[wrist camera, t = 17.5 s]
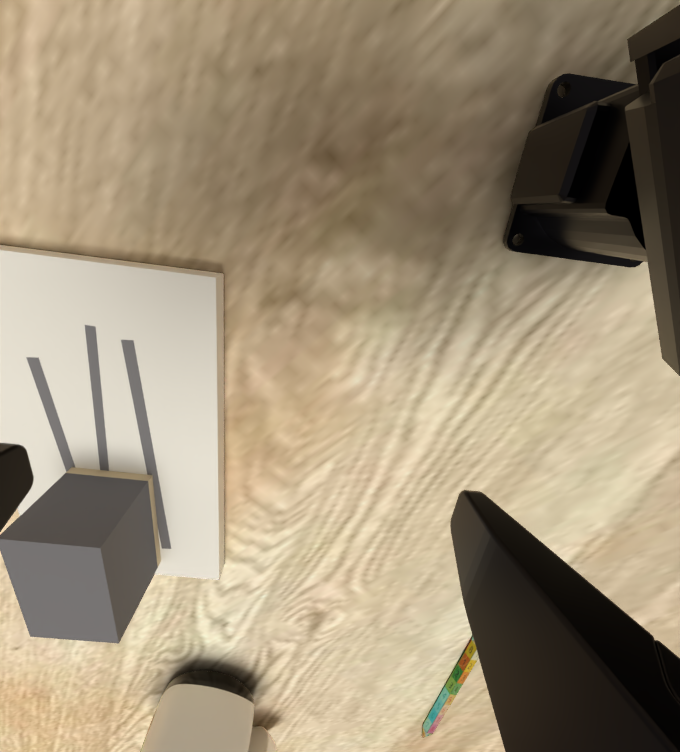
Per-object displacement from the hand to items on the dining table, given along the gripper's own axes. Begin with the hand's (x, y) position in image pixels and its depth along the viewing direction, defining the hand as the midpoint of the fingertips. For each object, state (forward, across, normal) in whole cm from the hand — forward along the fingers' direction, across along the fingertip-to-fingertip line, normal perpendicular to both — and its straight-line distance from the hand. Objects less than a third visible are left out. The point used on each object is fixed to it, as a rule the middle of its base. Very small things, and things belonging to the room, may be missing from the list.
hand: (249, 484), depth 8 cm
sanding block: (+11, +10, +13) cm, 20 cm away
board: (+12, +10, +8) cm, 18 cm away
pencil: (+13, -16, +30) cm, 36 cm away
